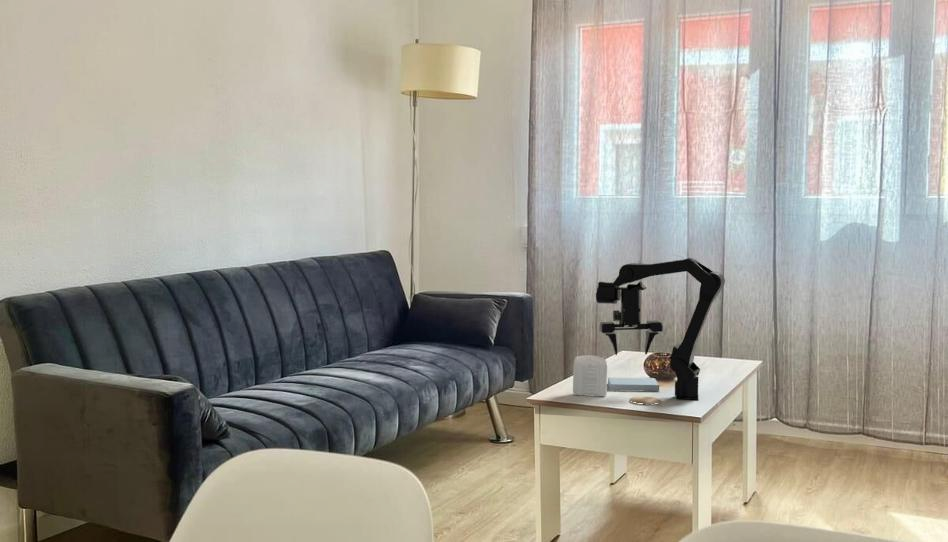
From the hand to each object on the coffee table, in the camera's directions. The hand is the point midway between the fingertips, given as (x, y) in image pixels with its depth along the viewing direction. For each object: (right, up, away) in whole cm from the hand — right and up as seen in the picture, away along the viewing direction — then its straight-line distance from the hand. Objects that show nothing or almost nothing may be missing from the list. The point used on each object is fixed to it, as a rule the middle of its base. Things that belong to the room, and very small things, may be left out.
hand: (631, 354), depth 285 cm
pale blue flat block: (+2, -11, +8) cm, 14 cm away
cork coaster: (+2, -13, -12) cm, 18 cm away
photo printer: (-13, -12, -3) cm, 18 cm away
